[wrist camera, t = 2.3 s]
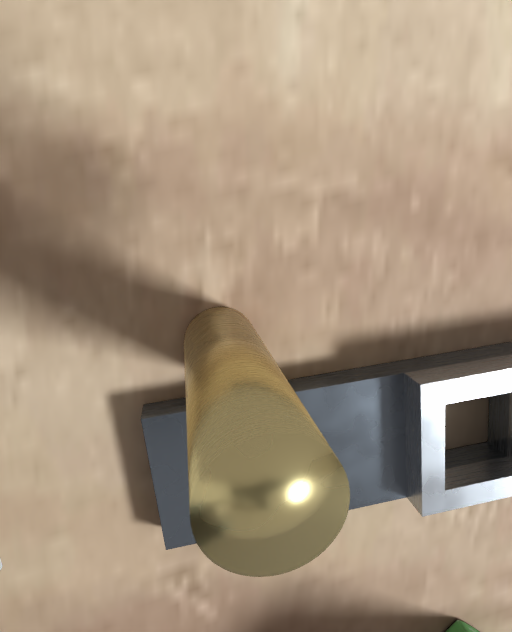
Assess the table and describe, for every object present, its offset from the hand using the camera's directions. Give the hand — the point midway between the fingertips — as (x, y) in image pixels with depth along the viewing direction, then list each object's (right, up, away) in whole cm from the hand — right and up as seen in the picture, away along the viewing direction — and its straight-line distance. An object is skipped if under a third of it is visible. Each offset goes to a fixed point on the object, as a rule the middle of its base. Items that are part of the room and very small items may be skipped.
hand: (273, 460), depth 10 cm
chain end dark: (+4, -3, +12) cm, 13 cm away
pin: (-2, +2, +10) cm, 11 cm away
